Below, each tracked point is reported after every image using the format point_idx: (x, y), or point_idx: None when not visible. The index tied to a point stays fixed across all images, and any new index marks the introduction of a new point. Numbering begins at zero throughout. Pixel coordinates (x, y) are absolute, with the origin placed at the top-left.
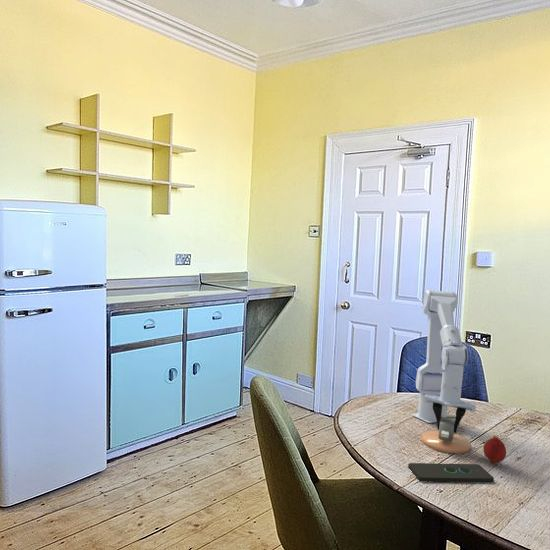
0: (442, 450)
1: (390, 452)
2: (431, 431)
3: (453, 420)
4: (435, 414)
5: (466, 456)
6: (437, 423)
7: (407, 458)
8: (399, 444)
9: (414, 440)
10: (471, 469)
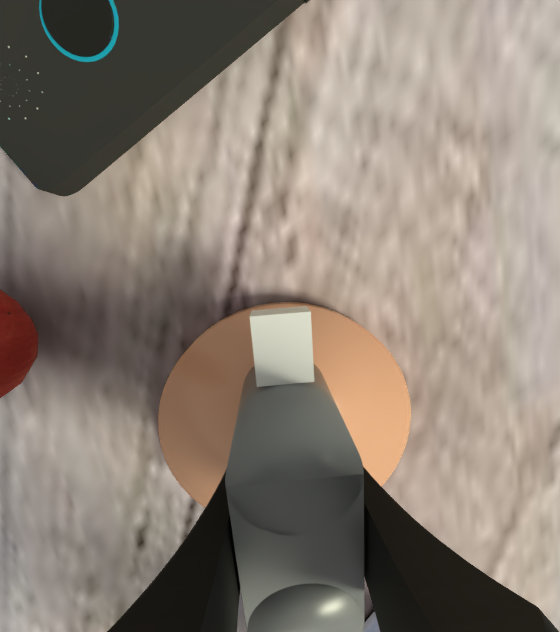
0: (279, 302)
1: (536, 90)
2: None
3: (251, 560)
4: (440, 545)
5: (160, 325)
6: (369, 475)
7: (436, 63)
8: (496, 250)
9: (429, 357)
10: (52, 70)
